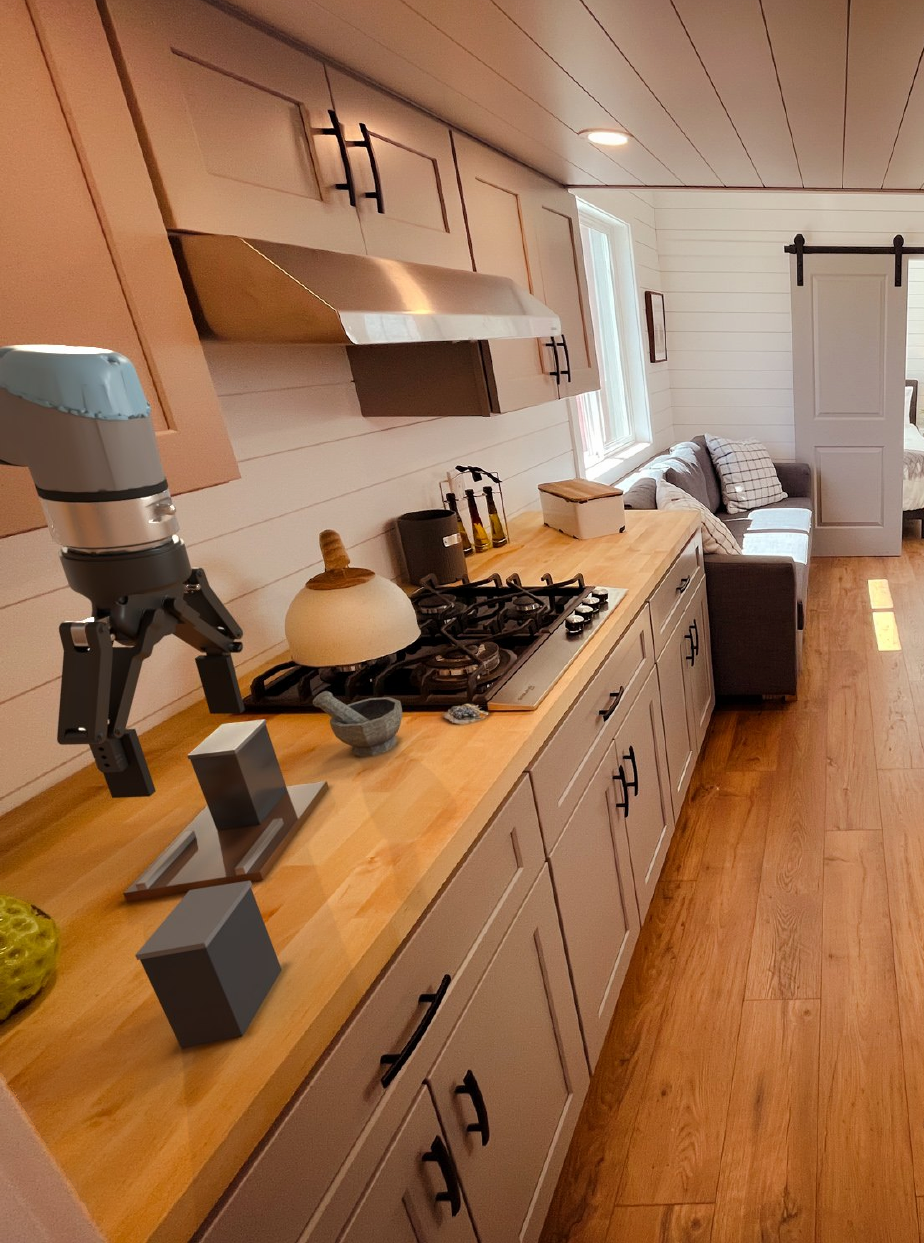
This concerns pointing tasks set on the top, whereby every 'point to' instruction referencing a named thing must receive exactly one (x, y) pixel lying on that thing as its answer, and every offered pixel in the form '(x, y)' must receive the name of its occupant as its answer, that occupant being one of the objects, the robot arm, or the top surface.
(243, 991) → the loose pad
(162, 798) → the top surface
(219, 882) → the pad base
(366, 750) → the mortar and pestle
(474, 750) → the top surface
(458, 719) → the blueberries
